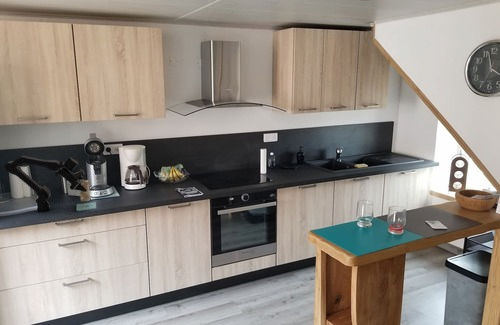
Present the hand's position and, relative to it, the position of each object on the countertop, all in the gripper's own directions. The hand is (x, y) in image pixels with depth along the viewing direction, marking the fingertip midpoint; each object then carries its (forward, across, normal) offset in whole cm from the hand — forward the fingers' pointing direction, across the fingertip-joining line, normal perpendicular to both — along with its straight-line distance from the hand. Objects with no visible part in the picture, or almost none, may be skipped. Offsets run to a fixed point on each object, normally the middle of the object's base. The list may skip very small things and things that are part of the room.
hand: (87, 190), depth 256 cm
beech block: (+4, 0, +6) cm, 7 cm away
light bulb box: (0, +33, +17) cm, 37 cm away
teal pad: (+7, 0, +9) cm, 12 cm away
